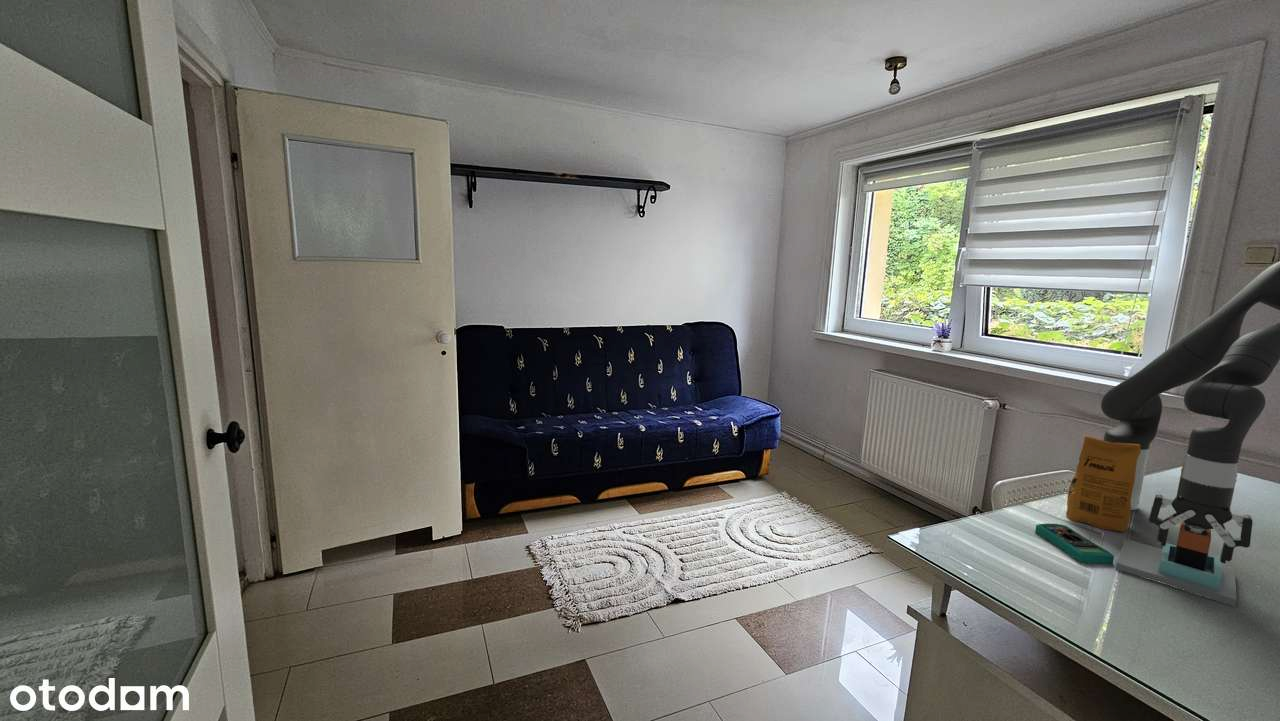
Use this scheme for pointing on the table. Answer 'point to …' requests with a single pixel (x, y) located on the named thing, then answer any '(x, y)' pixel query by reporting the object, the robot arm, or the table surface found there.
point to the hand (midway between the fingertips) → (1192, 552)
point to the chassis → (1178, 571)
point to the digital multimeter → (1074, 544)
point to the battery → (1192, 546)
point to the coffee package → (1103, 484)
